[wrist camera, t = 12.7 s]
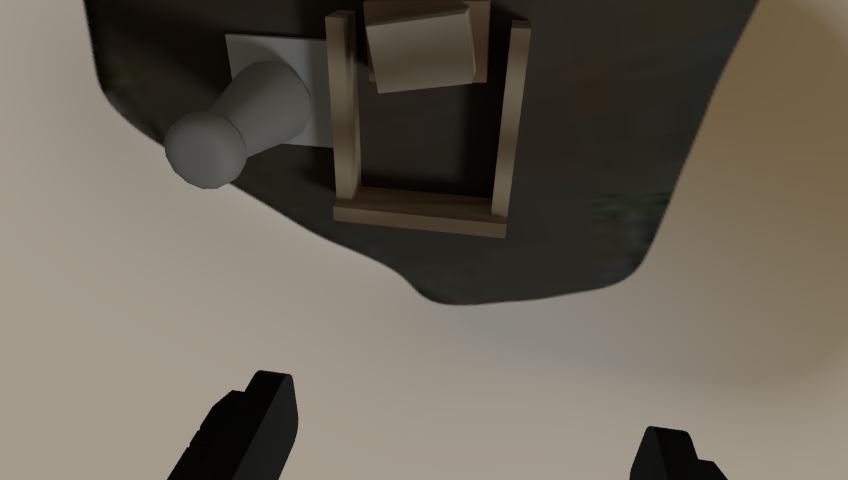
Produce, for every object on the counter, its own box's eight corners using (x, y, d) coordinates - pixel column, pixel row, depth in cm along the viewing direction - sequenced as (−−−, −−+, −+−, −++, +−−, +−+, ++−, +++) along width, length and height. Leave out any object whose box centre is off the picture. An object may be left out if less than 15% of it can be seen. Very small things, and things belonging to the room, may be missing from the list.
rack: (338, 10, 37) (320, 19, 33) (530, 21, 35) (531, 32, 32) (348, 197, 44) (334, 220, 41) (505, 213, 43) (504, 238, 39)
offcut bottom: (374, -4, 36) (363, 1, 34) (491, -6, 35) (488, 0, 32) (379, 70, 39) (369, 81, 36) (488, 71, 38) (486, 82, 35)
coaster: (228, 33, 39) (225, 34, 38) (334, 40, 38) (332, 41, 37) (245, 137, 43) (241, 139, 42) (340, 145, 42) (338, 148, 41)
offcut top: (377, 18, 34) (365, 26, 32) (469, 6, 33) (465, 13, 30) (388, 81, 36) (378, 93, 34) (475, 71, 35) (472, 83, 32)
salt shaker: (332, 120, 40) (262, 196, 29) (268, 138, 42) (179, 216, 31) (301, 43, 38) (212, 95, 27) (234, 65, 39) (123, 122, 28)
